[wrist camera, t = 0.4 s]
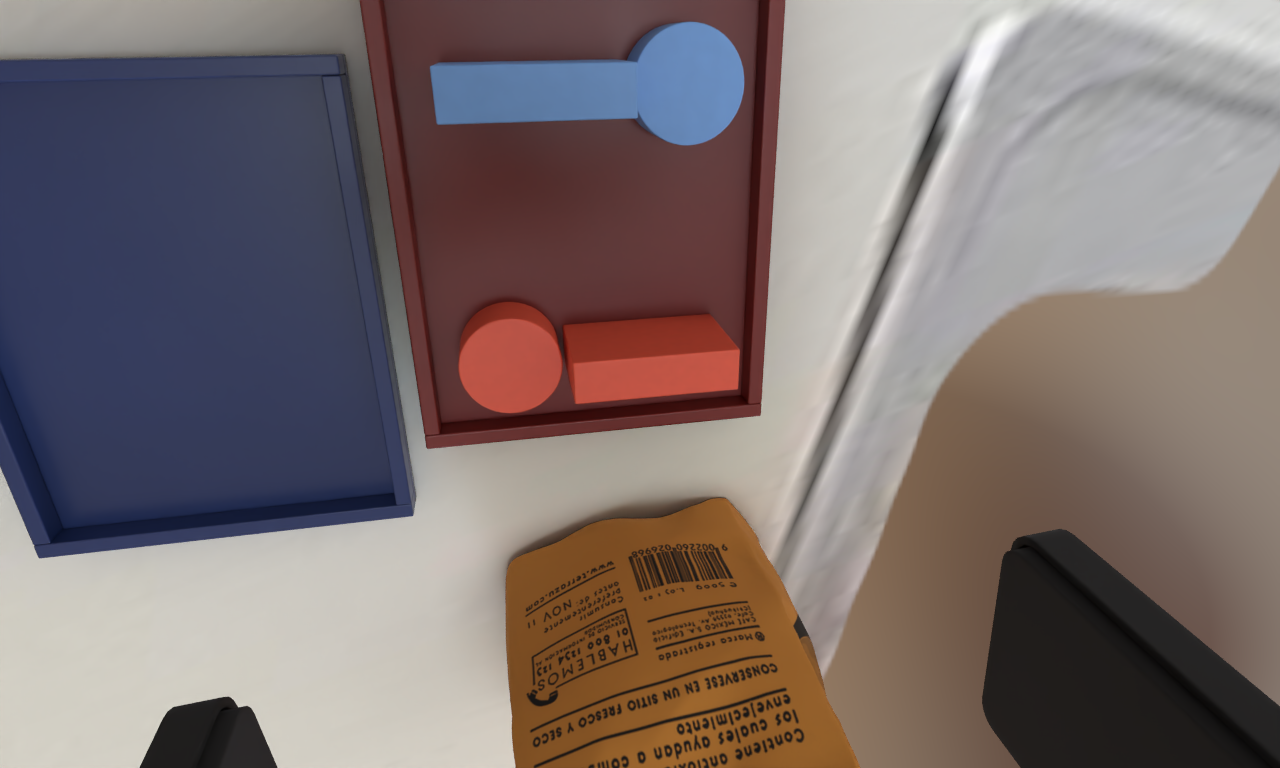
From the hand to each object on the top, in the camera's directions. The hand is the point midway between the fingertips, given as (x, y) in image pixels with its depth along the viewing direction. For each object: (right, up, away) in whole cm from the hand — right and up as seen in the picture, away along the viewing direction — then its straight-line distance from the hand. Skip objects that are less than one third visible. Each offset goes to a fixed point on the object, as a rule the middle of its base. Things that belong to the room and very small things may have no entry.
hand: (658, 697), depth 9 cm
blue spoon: (-2, +14, +17) cm, 22 cm away
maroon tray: (-2, +10, +19) cm, 22 cm away
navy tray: (-17, +6, +18) cm, 25 cm away
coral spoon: (-2, +6, +21) cm, 21 cm away
